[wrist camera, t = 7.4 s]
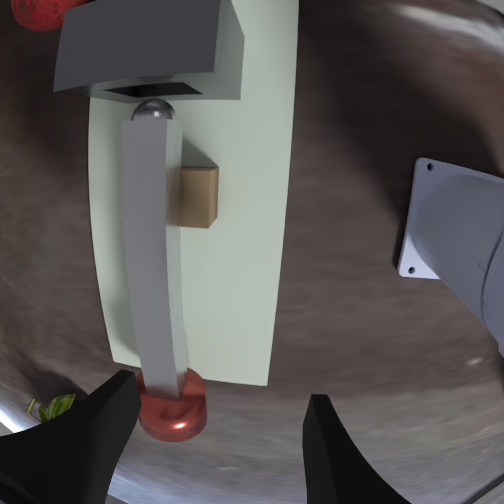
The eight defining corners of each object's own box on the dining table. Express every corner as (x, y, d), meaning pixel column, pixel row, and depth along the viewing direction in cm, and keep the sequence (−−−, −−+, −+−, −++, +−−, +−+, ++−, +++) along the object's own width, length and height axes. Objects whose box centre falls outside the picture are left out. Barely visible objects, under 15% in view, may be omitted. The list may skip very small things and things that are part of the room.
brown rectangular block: (219, 167, 17) (210, 171, 15) (217, 217, 19) (208, 228, 16) (140, 165, 18) (121, 170, 15) (140, 212, 19) (123, 222, 16)
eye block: (244, 37, 15) (223, -21, 8) (240, 100, 16) (214, 72, 9) (133, 45, 15) (65, 10, 8) (128, 103, 16) (53, 92, 10)
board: (297, 5, 14) (298, -1, 13) (267, 377, 24) (266, 385, 23) (107, 19, 15) (100, 15, 14) (118, 354, 24) (114, 361, 24)
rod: (217, 103, 15) (191, 87, 10) (212, 404, 22) (200, 454, 17) (131, 106, 15) (81, 98, 10) (152, 393, 22) (131, 438, 18)
